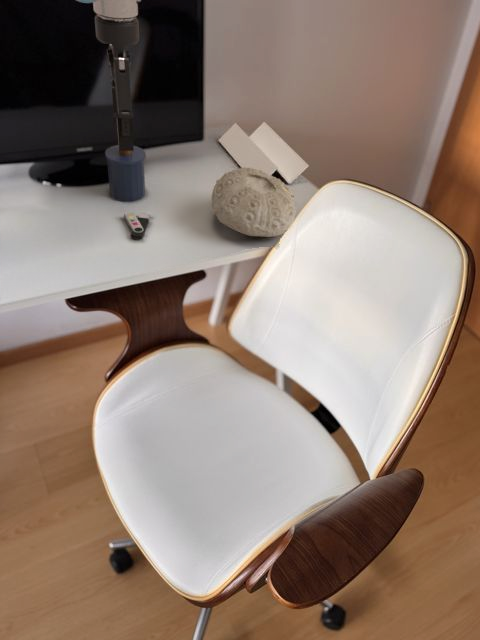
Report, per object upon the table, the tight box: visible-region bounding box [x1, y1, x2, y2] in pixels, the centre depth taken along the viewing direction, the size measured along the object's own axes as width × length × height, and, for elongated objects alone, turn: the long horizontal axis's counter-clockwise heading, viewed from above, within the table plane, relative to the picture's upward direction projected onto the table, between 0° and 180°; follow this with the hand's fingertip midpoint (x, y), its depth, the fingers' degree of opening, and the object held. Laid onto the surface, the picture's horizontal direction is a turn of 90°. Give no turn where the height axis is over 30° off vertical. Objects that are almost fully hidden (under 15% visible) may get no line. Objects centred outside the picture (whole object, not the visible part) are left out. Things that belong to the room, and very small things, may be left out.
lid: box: [104, 123, 147, 165], centre depth 111 cm, size 8×8×9 cm
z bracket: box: [218, 121, 309, 185], centre depth 136 cm, size 12×25×6 cm
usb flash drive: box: [123, 212, 151, 240], centre depth 109 cm, size 9×5×1 cm, turn 177°
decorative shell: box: [210, 167, 297, 238], centre depth 112 cm, size 18×18×10 cm
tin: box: [106, 158, 146, 203], centre depth 116 cm, size 7×7×8 cm
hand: (123, 135), depth 110 cm, fingers open, 13 cm apart
